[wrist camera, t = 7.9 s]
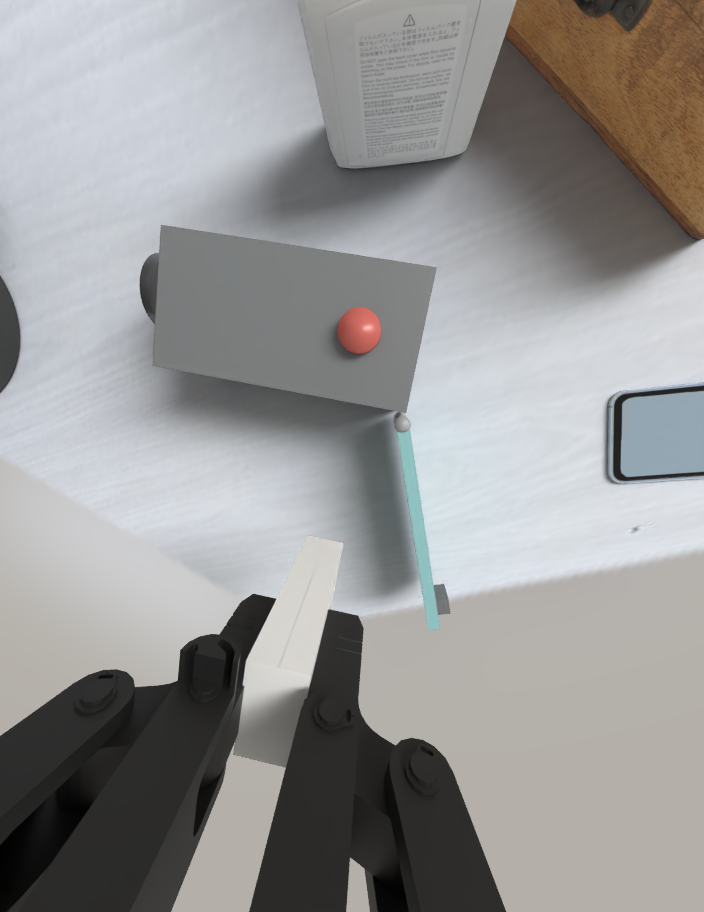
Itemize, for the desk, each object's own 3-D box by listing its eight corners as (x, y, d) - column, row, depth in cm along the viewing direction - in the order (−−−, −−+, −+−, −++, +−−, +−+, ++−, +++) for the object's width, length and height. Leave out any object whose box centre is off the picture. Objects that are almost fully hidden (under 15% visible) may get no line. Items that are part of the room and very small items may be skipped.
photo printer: (474, 89, 23) (566, -238, 11) (473, 160, 24) (559, -76, 12) (328, 111, 25) (268, -163, 12) (332, 178, 25) (279, -20, 13)
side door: (442, 583, 29) (455, 632, 23) (420, 586, 29) (427, 634, 23) (416, 408, 27) (424, 412, 21) (392, 412, 27) (393, 418, 21)
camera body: (188, 368, 29) (103, 357, 20) (196, 268, 27) (108, 211, 19) (401, 407, 28) (406, 413, 19) (422, 305, 26) (438, 261, 18)
